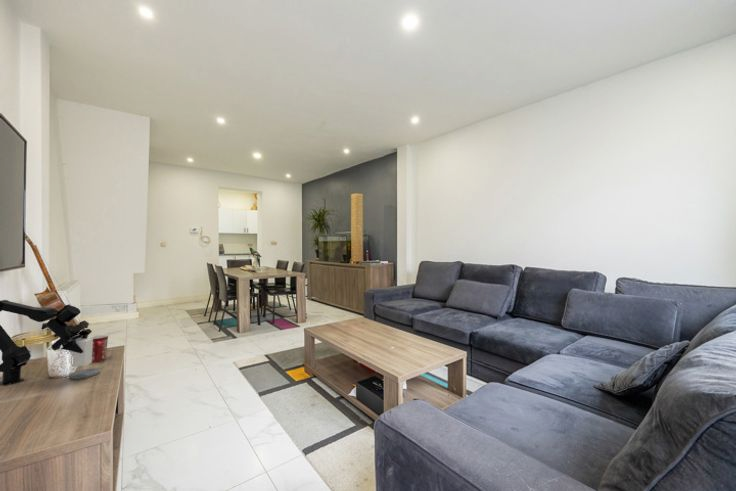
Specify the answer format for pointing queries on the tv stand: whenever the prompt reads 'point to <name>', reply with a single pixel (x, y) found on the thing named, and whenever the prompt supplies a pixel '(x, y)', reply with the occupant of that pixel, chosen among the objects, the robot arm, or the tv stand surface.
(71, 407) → the tv stand surface
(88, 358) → the block
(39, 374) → the tv stand surface
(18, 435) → the tv stand surface
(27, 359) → the robot arm
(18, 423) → the tv stand surface
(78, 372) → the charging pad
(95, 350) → the mug
